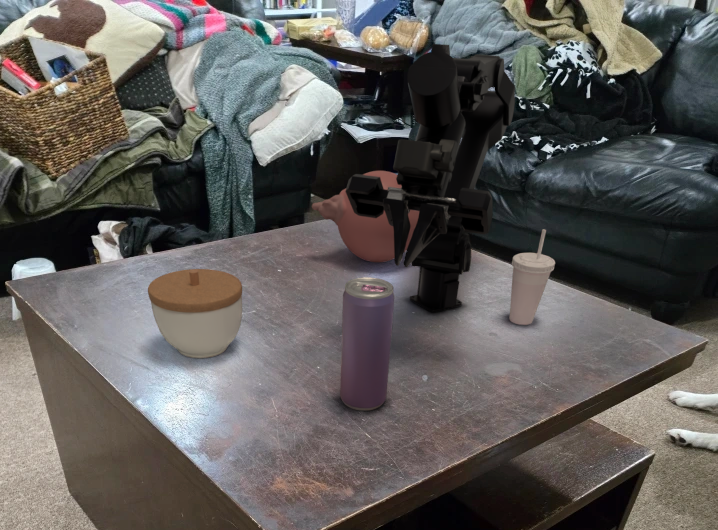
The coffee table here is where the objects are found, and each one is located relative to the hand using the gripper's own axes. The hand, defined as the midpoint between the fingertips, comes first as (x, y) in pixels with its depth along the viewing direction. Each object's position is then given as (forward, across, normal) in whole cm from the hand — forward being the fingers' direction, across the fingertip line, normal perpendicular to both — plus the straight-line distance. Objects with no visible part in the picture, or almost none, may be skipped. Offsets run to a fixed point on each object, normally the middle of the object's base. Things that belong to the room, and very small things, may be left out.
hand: (400, 265), depth 82 cm
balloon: (-16, -18, +36) cm, 43 cm away
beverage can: (+18, 0, +1) cm, 18 cm away
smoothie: (-6, +14, +25) cm, 30 cm away
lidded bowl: (+15, -26, +4) cm, 31 cm away
